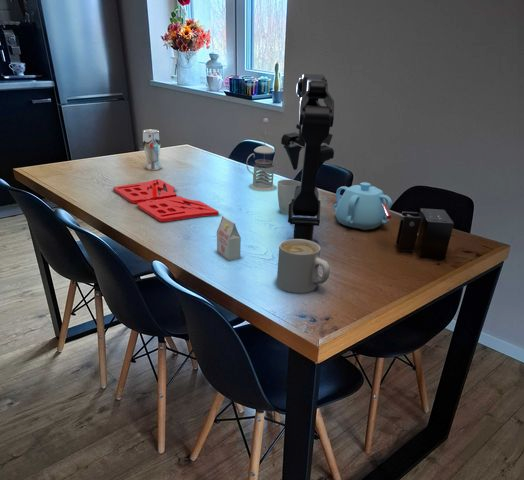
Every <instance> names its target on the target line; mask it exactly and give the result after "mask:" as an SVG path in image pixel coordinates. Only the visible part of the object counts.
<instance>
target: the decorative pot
mask: <svg viewBox="0 0 524 480" xmlns="http://www.w3.org/2000/svg"><path fill="white" fill-rule="evenodd" d="M342 190H343V191H344V192H343V194H341V191H342ZM335 199H336V203H335V204H333V206H332V207H333V211H334V212H335V217H336V220H337V221H338V223H340V224H342V225H343V226H347V227H349V228H350V227H351V228H354V229H360V230H361V231H368V230H374V229H376V228H378V227H380V226H381V225H382V224H384V225H385V224H389V223H390V221H391V219H387V217H386V215H385V212H384V209H383V207H382V204H383V203H386V204H387V208H388V209H389V210H391V208H392V206H393V200H392V199H391V197H390V196H389V195H387V194H384V191H383V190H382V189H380V188H377V187H376V186H375V185H374V186H373V185H372V184H371V183H370V182H365V181H364V182H360V183H359V184H353V185H351V186H346V185H344V186H340V187H337V189H336V192H335Z"/></svg>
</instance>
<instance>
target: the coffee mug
mask: <svg viewBox="0 0 524 480" xmlns="http://www.w3.org/2000/svg"><path fill="white" fill-rule="evenodd" d="M278 245H279V246H278V257H277V259H278V260H277V275H276V285H277V287H278V288H279V289H280V290H282V291H285V292H287V293H292V294H307V293H311V292H313V291H314V290H315V289H316V288H317V285H321V284H324V283H325V282H327V281H328V279H329V277H330V272H331V271H330V265H329V263H328V262H327V261H326V260H325V259H322V258H321V257H320V256H321V245H319V244H318V243H317V242H312V241H309V240H304V239H293V238H291V239H286V240H285V239H284V240H282V241H281V242H280V243H279V244H278ZM320 266H321V268H322V272H323V273H322V276H320V275H319V274H320V273H319V267H320Z"/></svg>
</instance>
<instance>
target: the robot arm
mask: <svg viewBox="0 0 524 480" xmlns="http://www.w3.org/2000/svg"><path fill="white" fill-rule="evenodd" d="M328 85H329V84H328V79H326V75H325V74H320V73H317V74H316V73H302V77H299V79H298V82H297V83H296V93H295V95H297V97H298V98H300V101H299V111H298V124H296V126H295V128H296V129H297V130H298V133H297V132H295V131H294V132H290V133H289V132H288V133H284V134H283V135H282V136H281V140H280V144H281V145H283V149H285V152H286V154H287V156H288V159H289V161H290V163H291V167H292V170H293V171H296V170H297V169H298V167H299V159H300V152H301V150H302V149H304V150H303V158H302V159H303V160H302V169H301V179H300V182H301V185H300V186H297V187H296V189H295V193H294V199H292V200H291V203H289V211H288V216H287V223H289V224H290V226H292V225H293V236H292V237H293V238H292V239H304V240H309V241H312V242H315V243H317V242H318V240H317V239H314V238H313V237H314V229H315V228H314V227H320V222H321V200H320V199H319V198H320V197H319V195H320V194H319V190H318V187H317V186H316V185H317V179H318V174H319V173H320V171H321V168H322V167H323V165H324V163H325V162H326V161H327V162H328V161H329V160H331V159H334V156H335V150H334V149H333V147H330V144H331V142H332V138H333V136H334V134H332V133H330V130H331V128H333V125H334V119H335V101H334V99H333V97H332V95H331V94H330V93H329V91H328V89H329V87H328ZM319 100H323V103H324V105H321V103H320V101H319ZM323 144H324V145H323Z"/></svg>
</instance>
